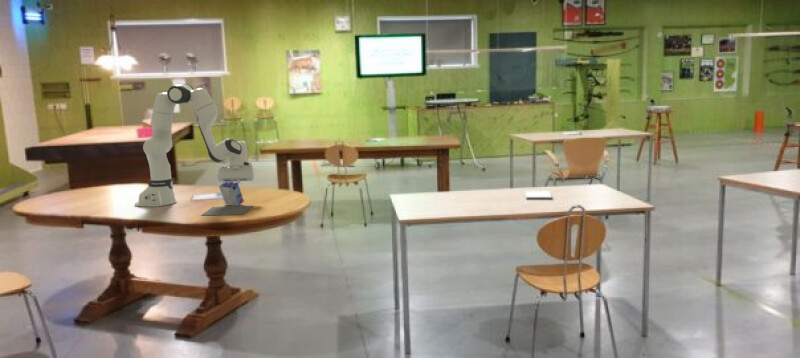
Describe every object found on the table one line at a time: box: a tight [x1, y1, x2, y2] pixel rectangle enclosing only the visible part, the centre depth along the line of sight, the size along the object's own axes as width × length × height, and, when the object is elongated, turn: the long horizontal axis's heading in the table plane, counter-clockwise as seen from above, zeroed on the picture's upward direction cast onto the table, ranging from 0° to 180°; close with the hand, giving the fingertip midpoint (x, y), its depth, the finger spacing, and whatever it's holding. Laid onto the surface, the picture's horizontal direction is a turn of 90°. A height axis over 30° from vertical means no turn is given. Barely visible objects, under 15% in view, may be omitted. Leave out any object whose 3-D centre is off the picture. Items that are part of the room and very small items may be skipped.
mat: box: [201, 205, 253, 217], centre depth 344 cm, size 22×20×1 cm
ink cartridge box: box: [218, 180, 245, 206], centre depth 356 cm, size 10×6×14 cm, turn 64°
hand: (234, 186), depth 358 cm, fingers closed
